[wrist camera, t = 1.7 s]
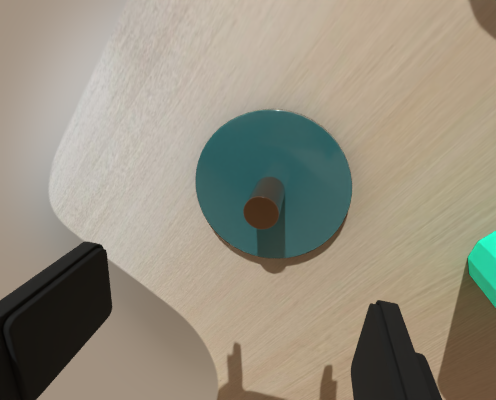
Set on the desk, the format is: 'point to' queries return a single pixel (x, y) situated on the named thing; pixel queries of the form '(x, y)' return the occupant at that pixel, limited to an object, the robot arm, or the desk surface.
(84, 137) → the desk surface
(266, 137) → the lid
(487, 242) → the candle
